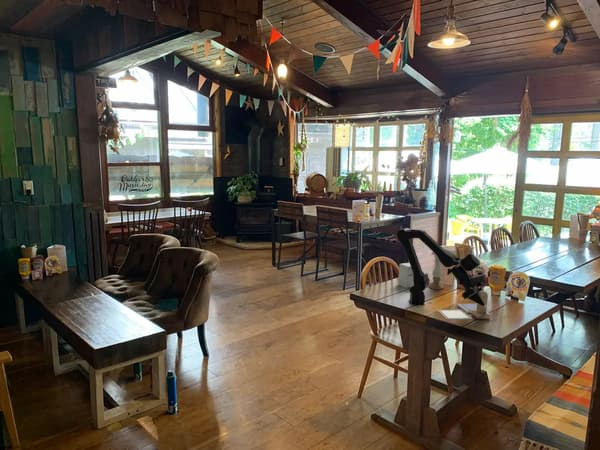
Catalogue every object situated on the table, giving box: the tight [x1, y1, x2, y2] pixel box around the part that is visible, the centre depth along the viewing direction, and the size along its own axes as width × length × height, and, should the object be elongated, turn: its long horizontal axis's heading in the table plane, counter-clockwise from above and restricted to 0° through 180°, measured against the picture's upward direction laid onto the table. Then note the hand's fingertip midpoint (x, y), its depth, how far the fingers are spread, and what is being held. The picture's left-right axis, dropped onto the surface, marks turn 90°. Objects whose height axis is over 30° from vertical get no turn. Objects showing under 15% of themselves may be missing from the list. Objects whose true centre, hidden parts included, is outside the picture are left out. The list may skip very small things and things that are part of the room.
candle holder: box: [427, 251, 445, 290], centre depth 249 cm, size 9×9×20 cm
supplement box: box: [397, 262, 414, 289], centre depth 251 cm, size 7×7×13 cm
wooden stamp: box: [471, 290, 491, 320], centre depth 204 cm, size 6×6×13 cm
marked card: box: [437, 309, 473, 320], centre depth 208 cm, size 12×12×1 cm
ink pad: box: [457, 303, 488, 314], centre depth 216 cm, size 10×10×2 cm
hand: (485, 304), depth 204 cm, fingers closed on wooden stamp, 4 cm apart
